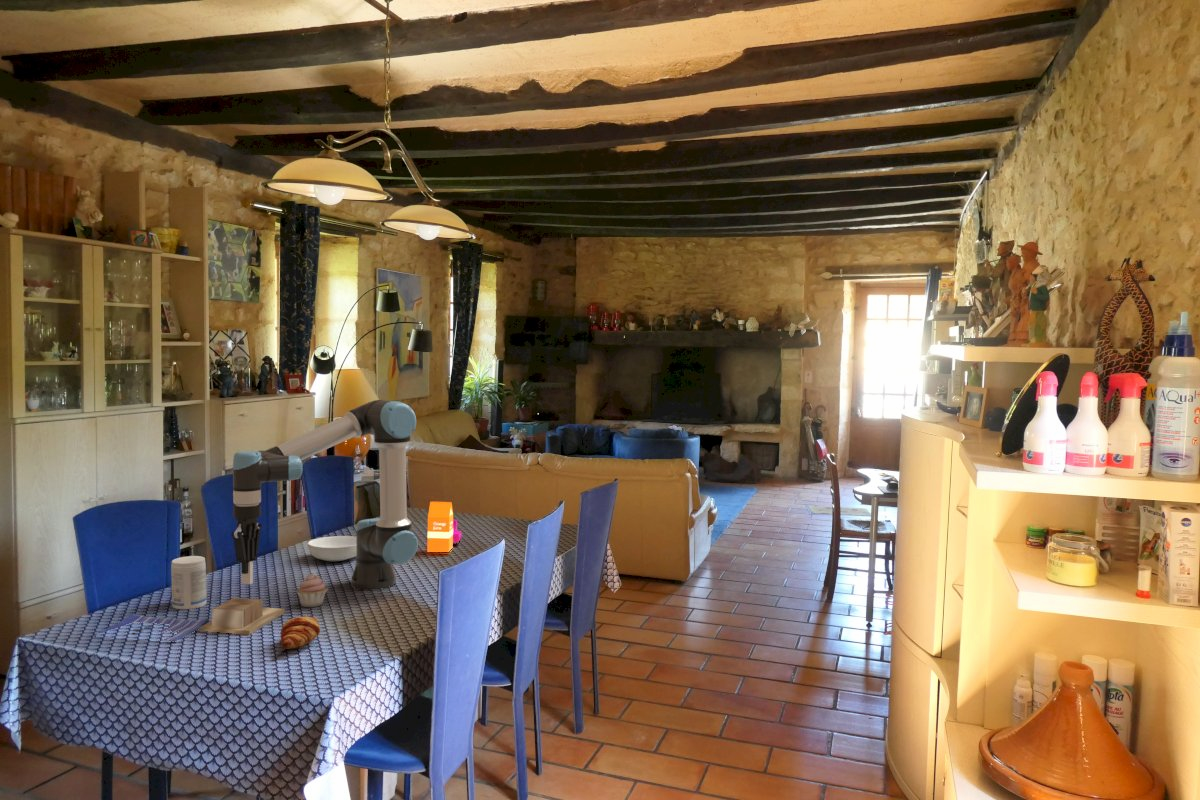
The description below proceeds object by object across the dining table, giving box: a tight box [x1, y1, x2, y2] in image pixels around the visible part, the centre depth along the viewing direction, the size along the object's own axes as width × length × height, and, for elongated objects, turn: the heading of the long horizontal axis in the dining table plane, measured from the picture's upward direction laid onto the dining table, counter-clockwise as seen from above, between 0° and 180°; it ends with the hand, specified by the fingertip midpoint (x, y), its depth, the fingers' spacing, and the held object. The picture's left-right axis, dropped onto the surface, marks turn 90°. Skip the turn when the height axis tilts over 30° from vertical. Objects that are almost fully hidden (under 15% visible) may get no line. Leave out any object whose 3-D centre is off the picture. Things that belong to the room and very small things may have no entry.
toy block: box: [453, 519, 462, 543], centre depth 348 cm, size 15×6×8 cm, turn 3°
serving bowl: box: [307, 535, 357, 562], centre depth 313 cm, size 21×21×7 cm
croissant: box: [279, 615, 321, 650], centre depth 223 cm, size 21×10×8 cm
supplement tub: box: [170, 555, 208, 610], centre depth 251 cm, size 10×10×15 cm
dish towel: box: [98, 613, 209, 642], centre depth 228 cm, size 17×24×3 cm
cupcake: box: [296, 573, 329, 608], centre depth 256 cm, size 9×9×10 cm
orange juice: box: [426, 501, 454, 552], centre depth 329 cm, size 8×9×20 cm
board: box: [198, 607, 286, 636], centre depth 238 cm, size 15×20×1 cm
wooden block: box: [211, 597, 264, 628], centre depth 235 cm, size 9×5×11 cm
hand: (247, 583), depth 240 cm, fingers closed
